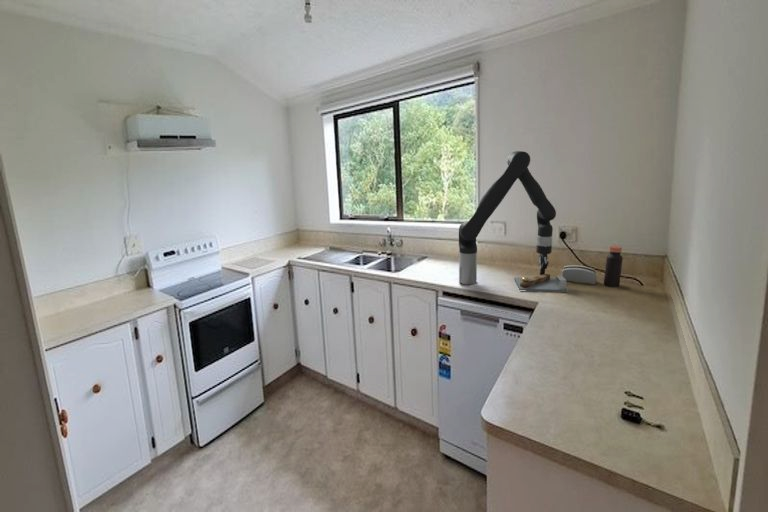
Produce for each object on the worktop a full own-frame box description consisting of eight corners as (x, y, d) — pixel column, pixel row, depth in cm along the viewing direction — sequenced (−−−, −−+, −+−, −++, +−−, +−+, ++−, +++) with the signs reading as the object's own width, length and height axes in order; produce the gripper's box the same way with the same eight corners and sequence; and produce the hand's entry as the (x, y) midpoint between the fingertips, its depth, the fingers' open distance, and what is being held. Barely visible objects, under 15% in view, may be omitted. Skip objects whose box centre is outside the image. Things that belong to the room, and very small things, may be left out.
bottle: (605, 282, 190) (610, 244, 185) (620, 284, 186) (625, 246, 181) (601, 285, 186) (606, 247, 181) (617, 288, 181) (622, 249, 176)
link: (525, 287, 184) (525, 283, 183) (518, 285, 188) (518, 280, 187) (552, 279, 194) (552, 275, 193) (545, 277, 197) (545, 273, 197)
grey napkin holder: (596, 281, 193) (598, 265, 187) (595, 286, 189) (597, 271, 184) (561, 277, 201) (562, 262, 196) (560, 282, 198) (560, 267, 193)
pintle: (522, 281, 185) (522, 278, 185) (521, 279, 188) (521, 277, 187) (528, 281, 185) (528, 278, 184) (527, 279, 187) (527, 277, 187)
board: (519, 291, 184) (519, 288, 184) (514, 279, 201) (514, 277, 201) (566, 292, 180) (567, 289, 180) (557, 280, 197) (557, 278, 197)
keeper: (559, 289, 180) (559, 280, 179) (555, 284, 187) (556, 275, 186) (565, 289, 180) (566, 280, 179) (561, 284, 187) (562, 275, 185)
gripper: (534, 241, 201) (532, 271, 205) (539, 247, 188) (537, 279, 193) (548, 241, 199) (546, 271, 204) (555, 247, 187) (552, 279, 191)
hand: (542, 275), depth 198 cm, fingers closed
